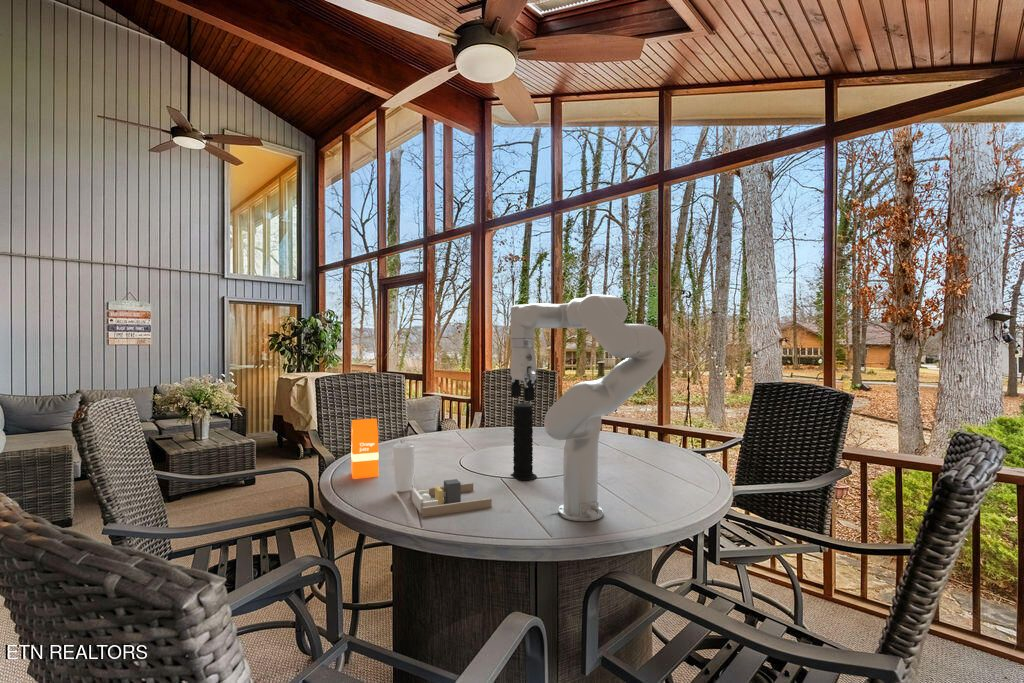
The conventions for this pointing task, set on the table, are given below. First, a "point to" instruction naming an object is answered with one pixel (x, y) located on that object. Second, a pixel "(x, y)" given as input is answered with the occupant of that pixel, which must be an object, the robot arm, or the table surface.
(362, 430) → the orange juice
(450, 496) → the grey cube yellow base
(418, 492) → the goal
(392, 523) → the table surface
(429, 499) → the ball
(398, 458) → the drinking glass
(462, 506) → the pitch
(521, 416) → the handle grip
